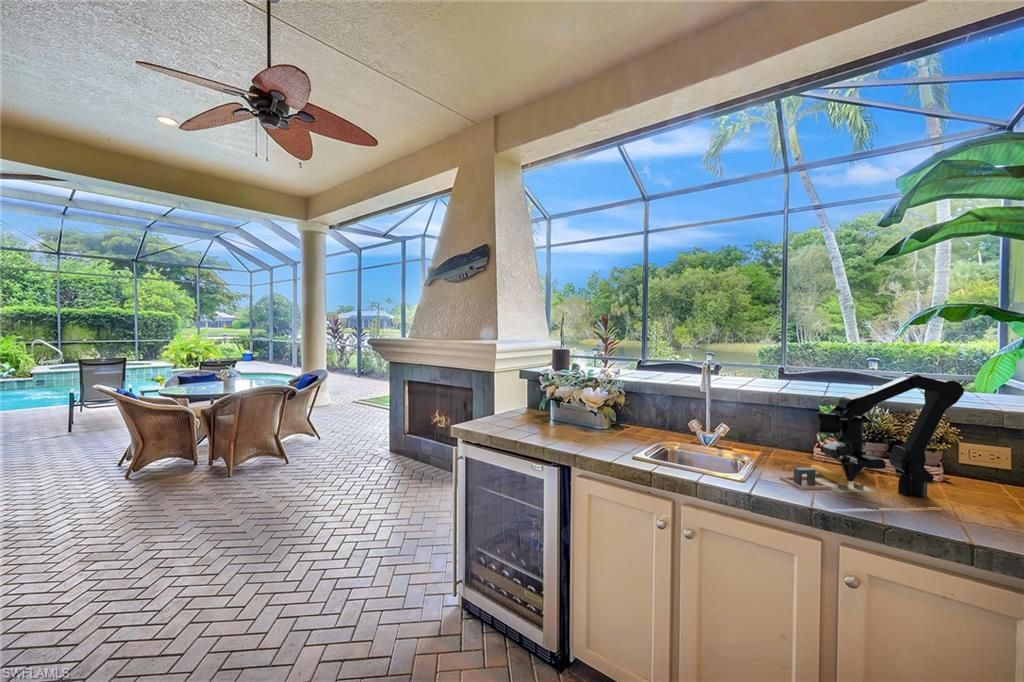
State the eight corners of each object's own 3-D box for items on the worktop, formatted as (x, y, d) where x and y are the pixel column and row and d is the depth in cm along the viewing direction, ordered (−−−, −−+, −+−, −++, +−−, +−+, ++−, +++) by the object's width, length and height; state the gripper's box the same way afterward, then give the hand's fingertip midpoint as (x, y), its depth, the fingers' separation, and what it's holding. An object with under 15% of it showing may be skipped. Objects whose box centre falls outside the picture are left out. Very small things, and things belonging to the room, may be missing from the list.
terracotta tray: (806, 480, 143) (806, 475, 143) (830, 491, 133) (830, 486, 133) (779, 480, 143) (779, 476, 143) (801, 491, 133) (802, 487, 133)
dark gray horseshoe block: (809, 483, 140) (809, 467, 139) (815, 485, 137) (815, 469, 137) (793, 483, 139) (793, 467, 139) (798, 485, 137) (799, 470, 137)
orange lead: (807, 471, 151) (807, 463, 151) (815, 471, 151) (815, 463, 151) (842, 486, 136) (843, 477, 136) (851, 486, 136) (851, 477, 136)
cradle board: (799, 475, 148) (799, 469, 148) (832, 475, 149) (832, 469, 149) (840, 494, 131) (840, 487, 131) (877, 493, 132) (877, 487, 132)
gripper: (806, 428, 143) (805, 471, 143) (853, 442, 125) (852, 492, 125) (836, 428, 144) (835, 471, 144) (887, 442, 125) (886, 492, 125)
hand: (850, 481), depth 135 cm, fingers closed
